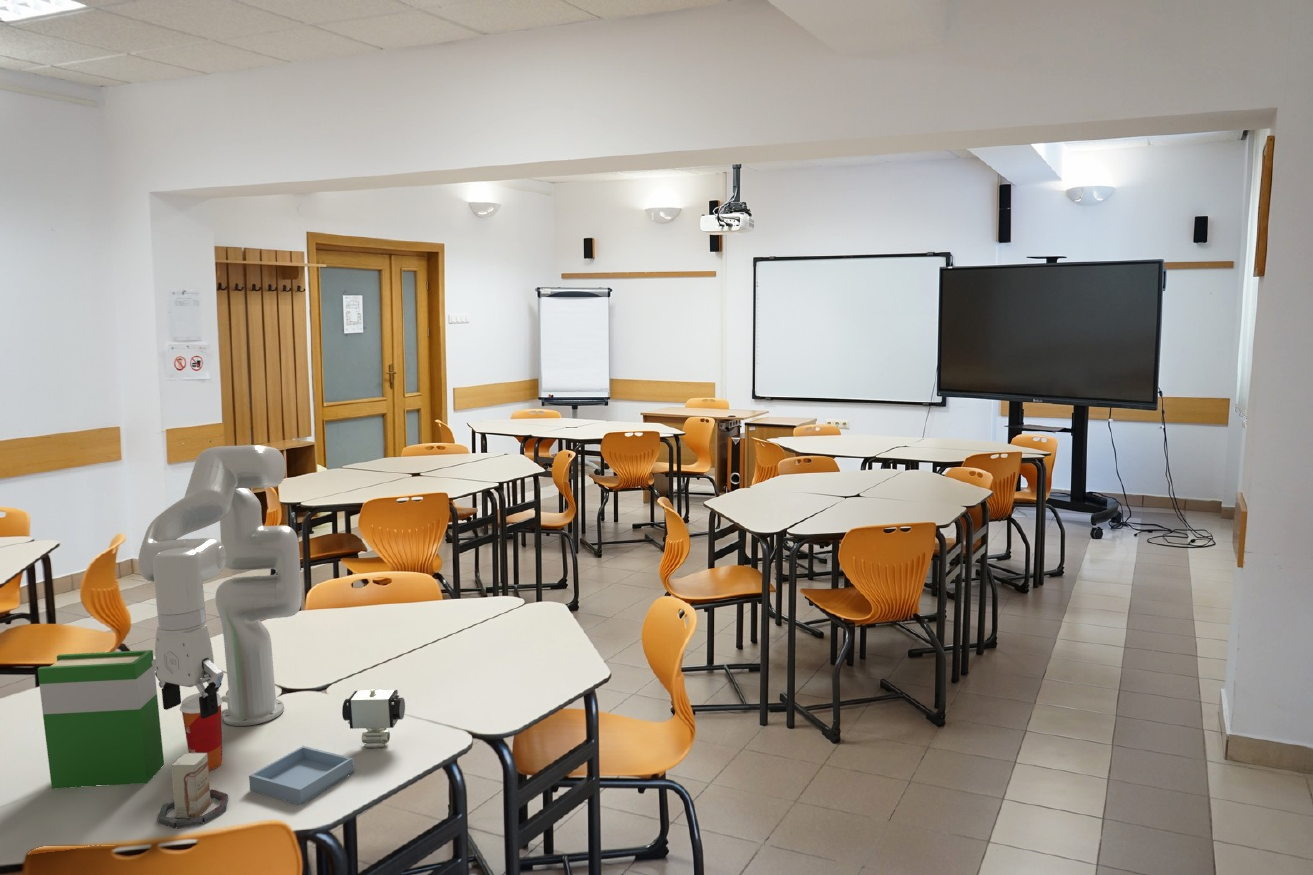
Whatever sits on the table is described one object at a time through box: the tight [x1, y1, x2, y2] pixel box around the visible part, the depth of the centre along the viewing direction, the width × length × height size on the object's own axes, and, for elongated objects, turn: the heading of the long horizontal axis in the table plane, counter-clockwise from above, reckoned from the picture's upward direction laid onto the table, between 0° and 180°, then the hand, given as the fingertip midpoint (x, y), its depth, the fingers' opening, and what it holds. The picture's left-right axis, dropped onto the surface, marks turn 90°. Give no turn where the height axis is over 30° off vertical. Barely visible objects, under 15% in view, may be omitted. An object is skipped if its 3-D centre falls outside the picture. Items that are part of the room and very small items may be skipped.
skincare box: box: [171, 752, 212, 819], centre depth 170 cm, size 5×4×10 cm
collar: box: [157, 788, 229, 829], centre depth 171 cm, size 11×11×1 cm
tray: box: [248, 745, 355, 806], centre depth 181 cm, size 13×13×3 cm
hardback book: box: [37, 649, 165, 790], centre depth 183 cm, size 18×7×24 cm, turn 94°
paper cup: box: [179, 692, 224, 772], centre depth 187 cm, size 8×8×14 cm
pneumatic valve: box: [341, 688, 406, 749], centre depth 195 cm, size 6×12×12 cm, turn 90°
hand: (190, 711), depth 169 cm, fingers open, 9 cm apart
